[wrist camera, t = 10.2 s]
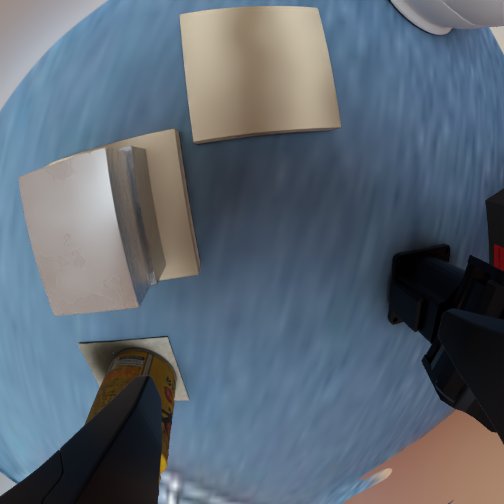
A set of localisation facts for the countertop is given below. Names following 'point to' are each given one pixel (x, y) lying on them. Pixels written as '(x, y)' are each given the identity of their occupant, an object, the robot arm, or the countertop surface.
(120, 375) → the condiment
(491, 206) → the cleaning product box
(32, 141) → the countertop surface
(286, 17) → the stand
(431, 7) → the jar
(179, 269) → the stand
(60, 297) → the block
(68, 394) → the countertop surface
